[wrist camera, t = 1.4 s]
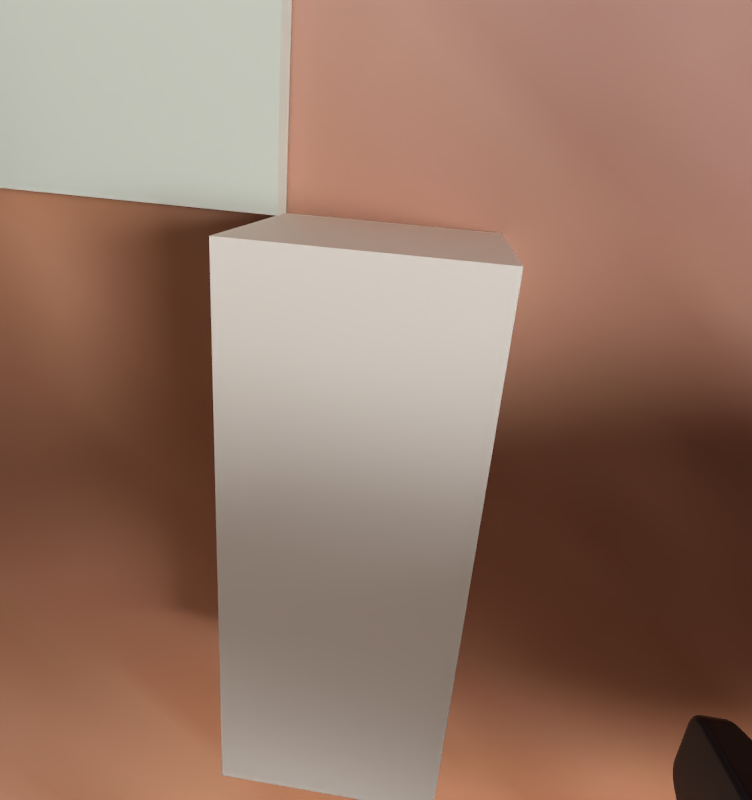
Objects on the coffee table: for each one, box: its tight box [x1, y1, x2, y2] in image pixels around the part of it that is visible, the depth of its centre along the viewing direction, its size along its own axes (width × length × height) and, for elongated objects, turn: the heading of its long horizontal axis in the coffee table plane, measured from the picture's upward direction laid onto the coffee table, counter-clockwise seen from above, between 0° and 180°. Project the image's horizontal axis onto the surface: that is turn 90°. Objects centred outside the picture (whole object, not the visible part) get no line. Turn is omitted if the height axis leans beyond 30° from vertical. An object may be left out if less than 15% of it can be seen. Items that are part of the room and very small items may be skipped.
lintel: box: [209, 213, 523, 800], centre depth 11 cm, size 4×10×4 cm, turn 176°
